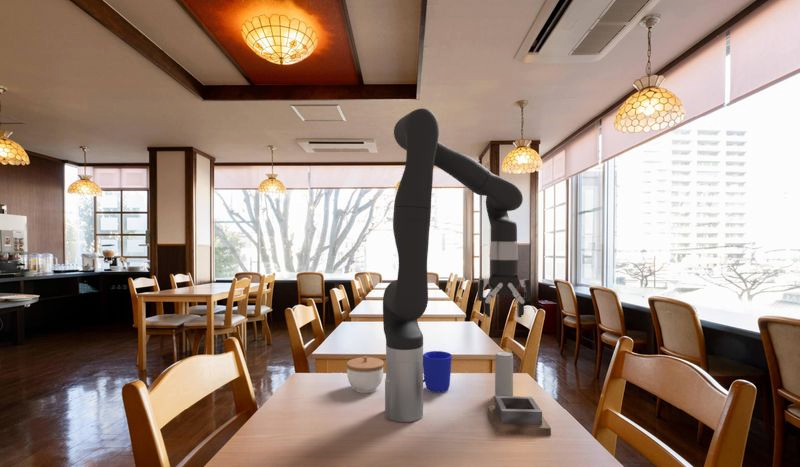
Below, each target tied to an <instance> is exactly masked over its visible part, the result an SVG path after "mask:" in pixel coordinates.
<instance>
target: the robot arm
mask: <svg viewBox="0 0 800 467" xmlns="http://www.w3.org/2000/svg"><path fill="white" fill-rule="evenodd" d="M393 136H394V140H395V142H396V143H397V145H398V146H400V148H402V149H403V150H405V151H406V155H405V156H406V157H405V158H406V159H405V165H404V170H403V173H402V176H401V179H400V182H399V185H398V187H397V190H396V195H395V197H394V203H393V214H392V215H393V216H392V218H393V219H392V229H393V238H394V243H395V246H396V252H397V257H398V270H397V279H394V280H393V281H391V282H390V283H388V285H387V286H386V287H385V289H384V293H383V297H382V319H383V320H382V321H383V334H384V336H385V379H384V394H385V395H384V419H385V420H392V421H395V422H399V423H412V422H415V421H419V420H420V419H421V418H423V416H424V382H423V380H424V368H423V355H424V335H423V333H422V331H421V328H420V325H419V322H418V319H420V318H421V317H422V316H423V315H424V314H425V311H426V310H427V308H428V307H427V306H428V303H429V287H428V286H429V285H428V255H429V243H430V242H429V240H430V239H429V238H430V229H431V228H430V227H431V217H432V216H431V214H432V197H433V196H432V194H433V180H434V166H435V167H437V168H438V169H440V170H442V171H443V172H444V173H446V174H448V175H449V176H451V177H452V178H454V179H455V180H457V181H458V182H460V183H461V184H462V185H463V186H464V187H466V188H468V190H470V191H471V192H473V193H475V195H479V196H485V197H486V198H485V208H486V213H487V217H488V220H489V225H490V248H489V279H483V278H482V277H481V278H478V280H477V281H478V282H477V294H476V295H477V296H476V297H477V300H478V301H479V302H482V303H483V312H484V313H483V314H484V315H486V317H487V318H491V303H490V302H491V301H492V299H494V297H495V296H496V295H498V296H504V295H505V296H511V295H513V297H514V298H515V299H516V301H517V303H516V305H517V306H516V309H517V310H516V311H517V312H516V313H517V314H516V316H517V317H518V318H522V316H524V315H525V314H524V313H525V310H524V309H525V303H527V302H531V301H532V293H531V292H532V290H531V289H532V288H531V281H530V279H528V278H524V279H520V278H519V247H518V227H517V226H518V225H517V222H515V221H514V220H512V219H510V217H509V213H508V212H511V211H512V212H513V211H516V210H517V209H519V208H520V207H521V206H522V204H523V200H524V198H523V194H522V191H521V190H520V188H519V187H518V186H517V185H516V184H514V183H513V182H510V181H509V180H507V179H505V178H503V177H501V176H500V175H497V174H494V173H492V172H491V171H490V170H489V169H488V168H487V167H485V165H482V164H481V163H480V162H479V161H477V160H476V159H474V158H472V157H471V156H468V155H467V154H464V153H462V152H460V151H458V150H454V149H452V148H450V147H448V145H444V143H442V142H440V141H439V136H440V126H439V121H438V118H437V116H436V115H435V114H434V113H433V112H432V111H431V110H429V109H427V108H418V109H414V110H412V111H411V112H409V113H408V114H406V115H404V116H403V117H401V118H400V119H398V121H397V122H396V123H395V125H394V128H393ZM487 285H489V286H490V290H489V291H488V293H487V294H486V296H484V288H486V286H487ZM519 286H521V287H522V288H523V293H524V294H523V295H524V297H522V296H521V293H519V292H518V289H517V288H518V287H519Z"/></svg>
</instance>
